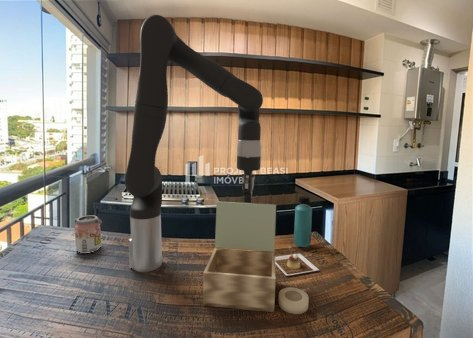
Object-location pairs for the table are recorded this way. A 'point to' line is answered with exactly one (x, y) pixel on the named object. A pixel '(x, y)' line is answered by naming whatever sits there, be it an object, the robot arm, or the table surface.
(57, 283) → the table surface
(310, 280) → the table surface
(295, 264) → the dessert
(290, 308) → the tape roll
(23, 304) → the table surface
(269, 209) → the lid
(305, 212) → the beverage bottle
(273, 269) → the crate
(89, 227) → the beverage can
